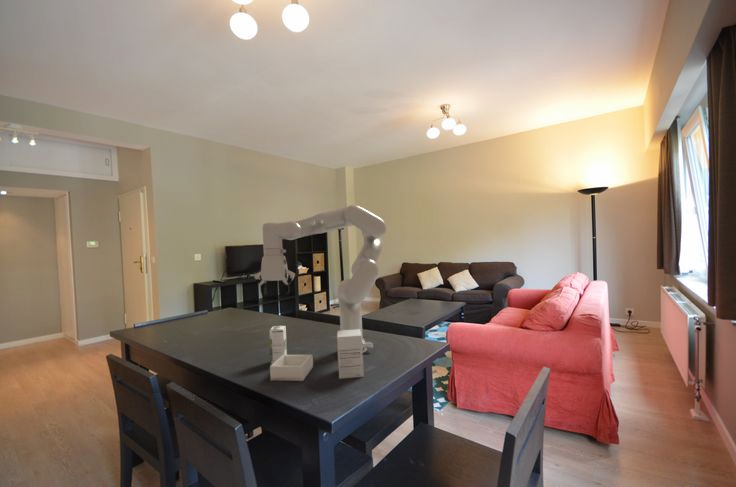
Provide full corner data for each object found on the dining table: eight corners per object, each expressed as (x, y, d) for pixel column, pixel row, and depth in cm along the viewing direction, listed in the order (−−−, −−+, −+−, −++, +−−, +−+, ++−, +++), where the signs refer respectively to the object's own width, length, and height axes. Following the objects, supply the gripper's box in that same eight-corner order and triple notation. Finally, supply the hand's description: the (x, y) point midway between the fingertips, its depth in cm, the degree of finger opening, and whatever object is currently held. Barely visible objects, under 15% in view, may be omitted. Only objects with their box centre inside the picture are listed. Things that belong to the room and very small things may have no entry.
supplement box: (338, 369, 126) (336, 330, 125) (362, 367, 126) (360, 328, 126) (338, 379, 117) (336, 337, 116) (363, 377, 117) (361, 335, 117)
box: (313, 367, 129) (312, 354, 129) (302, 380, 117) (302, 366, 117) (283, 367, 130) (283, 354, 130) (270, 380, 118) (269, 366, 118)
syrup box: (273, 360, 138) (271, 326, 138) (287, 359, 139) (285, 325, 139) (270, 365, 133) (268, 329, 133) (285, 364, 133) (283, 328, 133)
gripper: (296, 251, 138) (298, 292, 138) (257, 253, 140) (259, 293, 141) (290, 252, 130) (292, 295, 131) (249, 254, 133) (251, 296, 133)
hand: (275, 294), depth 136 cm, fingers open, 9 cm apart
